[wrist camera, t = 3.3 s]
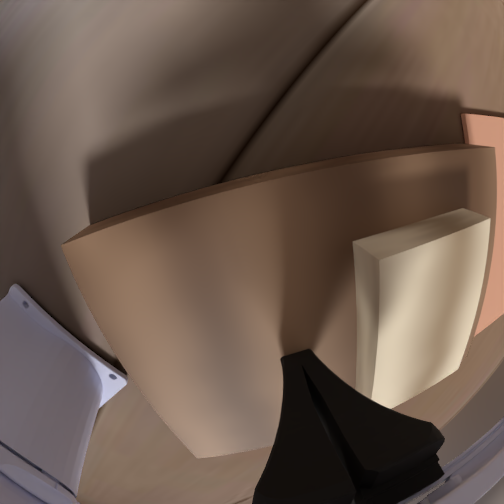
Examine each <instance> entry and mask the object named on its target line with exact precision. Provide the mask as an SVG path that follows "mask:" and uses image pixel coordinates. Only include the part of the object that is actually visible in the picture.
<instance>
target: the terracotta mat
mask: <svg viewBox="0 0 504 504" xmlns="http://www.w3.org/2000/svg"><path fill="white" fill-rule="evenodd" d="M461 119H462V125H463V132H464V139H465V144H473V145H481V146H489V147H495V154H496V171H497V209H496V226H495V237H494V247H493V254H492V261H491V268H490V274H489V279H488V284H487V289H486V294H485V298H484V302H483V306H482V310H481V314H480V318H479V321H478V325H477V328H476V332H475V335H477V334H478V333H479V332H481V331H482V330H483V329H485V328H486V327H487V326H488V325H490V324H491V323H492V322H494V321H495V320H496V319H497V318H498V317H500V316H501V315H502V314H503V313H504V118H500V117H493V116H484V115H475V114H461ZM475 335H474V336H475Z"/></svg>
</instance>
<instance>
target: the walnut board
mask: <svg viewBox="0 0 504 504" xmlns="http://www.w3.org/2000/svg"><path fill="white" fill-rule="evenodd" d="M461 208H464V209H467V210H470V211H473V212H475V213H478V214H481V215H483V216H486V217H489V218H490V233H489V243H488V252H487V259H486V266H485V272H484V278H483V284H482V289H481V294H480V298H479V303H478V307H477V311H476V315H475V319H474V322H473V326H472V329H471V333H470V336H469V339H468V342H467V345H466V348H465V351H464V354H463V357H462V360H463V359H465V358H466V357H467V356H468V353H469V350H470V347H471V344H472V341H473V338H474V335H475V332H476V328H477V325H478V321H479V318H480V314H481V310H482V306H483V302H484V298H485V294H486V289H487V284H488V279H489V274H490V268H491V261H492V254H493V247H494V237H495V226H496V209H497V171H496V154H495V147H489V146H481V145H473V144H463V143H458V144H443V145H431V146H420V147H410V148H402V149H393V150H385V151H378V152H371V153H364V154H357V155H351V156H345V157H339V158H333V159H328V160H322V161H317V162H312V163H306V164H301V165H297V166H292V167H287V168H282V169H278V170H273V171H269V172H264V173H260V174H256V175H252V176H247V177H243V178H239V179H235V180H231V181H228V182H224V183H220V184H216V185H213V186H209V187H205V188H202V189H198V190H195V191H191V192H188V193H184V194H181V195H178V196H174V197H171V198H168V199H165V200H161V201H158V202H155V203H152V204H149V205H146V206H143V207H140V208H137V209H134V210H131V211H128V212H125V213H122V214H119V215H116V216H114V217H111V218H108V219H105V220H103V221H100V222H97V223H95V224H92V225H89V226H88V227H86V228H85V229H83V230H82V231H81V232H79V233H78V234H76V235H75V236H73V237H72V238H70V239H69V240H68V241H66V242H65V243H63V244H62V245H61V247H62V250H63V252H64V255H65V257H66V260H67V262H68V265H69V267H70V269H71V272H72V274H73V276H74V278H75V281H76V283H77V285H78V287H79V289H80V291H81V293H82V295H83V297H84V299H85V301H86V303H87V305H88V307H89V309H90V311H91V313H92V315H93V317H94V319H95V321H96V322H97V324H98V326H99V328H100V330H101V331H102V333H103V335H104V337H105V338H106V340H107V342H108V343H109V345H110V347H111V348H112V350H113V351H114V353H115V355H116V356H117V358H118V359H119V361H120V363H121V364H122V366H123V367H124V369H125V370H126V372H127V373H128V375H129V376H130V377H131V379H132V380H133V382H134V383H135V385H136V386H137V387H138V389H139V390H140V392H141V393H142V394H143V396H144V397H145V398H146V400H147V401H148V402H149V404H150V405H151V406H152V407H153V409H154V410H155V411H156V412H157V414H158V415H159V416H160V417H161V419H162V420H163V421H164V422H165V423H166V425H167V426H168V427H169V428H170V429H171V431H172V432H173V433H174V434H175V435H176V436H177V437H178V438H179V440H180V441H181V442H182V443H183V444H184V445H185V446H186V447H187V448H188V449H189V450H190V451H191V453H192V454H193V455H194V456H195V457H196V458H206V457H214V456H221V455H227V454H233V453H239V452H245V451H250V450H255V449H259V448H264V447H268V446H272V445H273V444H274V441H275V437H276V433H277V429H278V425H279V420H280V414H281V406H282V398H283V371H282V365H281V361H280V359H281V357H283V356H286V355H289V354H293V353H296V352H299V351H303V350H306V349H311V350H312V351H313V352H314V354H315V355H316V356H317V357H318V358H319V359H320V360H321V361H322V362H323V363H324V364H325V365H326V366H327V367H328V368H329V369H330V370H331V371H332V372H334V373H335V374H336V375H337V376H338V377H339V378H341V379H342V380H343V381H344V382H346V383H347V384H348V385H350V386H351V387H352V388H354V389H355V388H356V365H357V306H356V282H355V266H354V253H353V242H352V241H356V240H359V239H362V238H366V237H369V236H373V235H376V234H379V233H383V232H386V231H389V230H393V229H396V228H399V227H403V226H406V225H409V224H413V223H416V222H419V221H422V220H426V219H429V218H432V217H435V216H439V215H442V214H445V213H448V212H451V211H455V210H458V209H461ZM462 360H461V361H462Z"/></svg>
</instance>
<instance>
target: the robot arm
mask: <svg viewBox="0 0 504 504" xmlns="http://www.w3.org/2000/svg"><path fill="white" fill-rule="evenodd" d="M26 302H27V303H28V304H27V303H26ZM280 361H281V365H282V371H283V398H282V406H281V414H280V420H279V425H278V429H277V433H276V437H275V441H274V444H273V448H272V451H271V453H270V456H269V459H268V461H267V464H266V467H265V469H264V471H263V473H262V476H261V478H260V480H259V482H258V484H257V486H256V488H255V492H254V496H253V501H252V504H407V503H409V502H411V501H412V500H414V499H416V498H418V497H420V496H421V495H423V494H425V493H426V492H428V491H429V490H431V489H433V488H434V487H436V486H437V485H439V484H440V483H442V482H443V481H445V480H446V481H445V484H443V485H442V486H440V487H439V488H438V489H436V490H435V491H433V492H432V493H430V494H429V495H427V497H426V498H425V499H423V500H422V501H420V502H419V503H417V504H474V503H475V502H476V501H478V500H479V499H480V498H481V497H482V496H483V495H484V494H485V493H486V492H488V491H489V490H490V489H491V488H492V487H493V486H494V485H495V484H496V483H497V482H498V481H499V480H500V479H501V478H502V477H503V476H504V417H503V418H502V419H501V420H500V421H499V422H498V423H497V424H496V425H495V426H493V428H491V429H490V430H489V431H488V432H487V433H486V434H485V435H483V436H482V437H481V438H480V439H479V440H478V441H476V442H475V443H474V444H473V445H471V446H470V447H469V448H468V449H467V450H465V451H464V452H463V453H461V454H460V455H459V456H458V457H456V458H455V459H453V460H452V461H450V462H449V463H447V464H446V465H445V466H443V467H442V468H441V467H440V465H439V464H438V461H439V458H438V456H437V455H436V453H437V451H438V450H439V449H440V447H441V446H442V445H443V443H444V440H445V438H444V436H443V435H442V434H441V432H440V431H439V430H438V429H437V428H436V427H435V426H434V425H433V424H432V423H431V422H427V421H423V420H419V419H416V418H412V417H409V416H406V415H404V414H401V413H398V412H396V411H394V410H391V409H389V408H387V407H385V406H382V405H380V404H378V403H377V402H375V401H373V400H371V399H369V398H368V397H366V396H364V395H363V394H361V393H360V392H358V391H357V390H355V389H354V388H352V387H351V386H350V385H348V384H347V383H346V382H344V381H343V380H342V379H341V378H339V377H338V376H337V375H336V374H335V373H334V372H332V371H331V370H330V369H329V368H328V367H327V366H326V365H325V364H324V363H323V362H322V361H321V360H320V359H319V358H318V357H317V356H316V355H315V354H314V352H313V351H312V350H311V349H306V350H303V351H299V352H296V353H293V354H289V355H286V356H283V357H281V359H280ZM113 374H114V375H113ZM127 381H128V378H127V376H126V375H125V374H124V373H122V372H121V371H119V370H118V369H116V368H115V367H113V366H112V365H110V364H109V363H108V362H106V361H105V360H103V359H102V358H101V357H99V356H98V355H97V354H95V353H94V352H93V351H91V350H90V349H89V348H87V347H86V346H85V345H84V344H82V343H81V342H80V341H79V340H77V339H76V338H75V337H74V336H72V335H71V334H70V333H69V332H68V331H67V330H65V329H64V328H63V327H62V326H61V325H60V324H58V323H57V322H56V321H55V320H54V319H53V318H52V317H51V316H50V315H48V314H47V313H46V312H45V311H44V310H43V309H42V308H41V307H40V306H39V305H38V304H37V303H36V302H35V301H34V300H33V299H32V298H31V297H30V296H29V295H28V294H27V293H26V292H25V291H24V290H23V289H22V288H21V287H20V286H19V285H18V284H13V285H12V286H11V287H10V289H9V292H8V294H7V295H6V296H5V297H4V298H3V299H2V300H1V301H0V504H80V503H79V502H77V501H76V497H77V492H78V487H79V482H80V477H81V472H82V468H83V463H84V459H85V455H86V451H87V447H88V443H89V440H90V436H91V432H92V429H93V425H94V422H95V418H96V415H97V412H98V409H99V408H100V407H101V406H102V405H103V404H104V403H106V402H107V401H108V400H109V399H110V398H111V397H113V396H114V395H115V394H116V393H117V392H118V391H119V390H121V389H122V388H123V387H124V386H125V385H126V384H127Z"/></svg>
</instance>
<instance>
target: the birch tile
mask: <svg viewBox="0 0 504 504" xmlns="http://www.w3.org/2000/svg"><path fill="white" fill-rule="evenodd" d="M489 233H490V218H489V217H486V216H483V215H481V214H478V213H475V212H473V211H470V210H467V209H464V208H461V209H458V210H455V211H451V212H448V213H445V214H442V215H439V216H435V217H432V218H429V219H426V220H422V221H419V222H416V223H413V224H409V225H406V226H403V227H399V228H396V229H393V230H389V231H386V232H383V233H379V234H376V235H373V236H369V237H366V238H362V239H359V240H356V241H352V242H353V253H354V266H355V282H356V306H357V365H356V388H355V390H357V391H358V392H360V393H361V394H363V395H364V396H366V397H368V398H369V399H371V400H373V401H375V402H377V403H378V404H380V405H382V406H385V407H387V408H389V409H391V408H393V407H395V406H397V405H399V404H401V403H403V402H405V401H407V400H408V399H410V398H412V397H414V396H416V395H417V394H419V393H421V392H423V391H424V390H426V389H428V388H429V387H431V386H433V385H434V384H436V383H438V382H439V381H441V380H442V379H444V378H445V377H447V376H448V375H450V374H451V373H453V372H454V371H456V370H457V369H458V368H459V365H460V363H461V360H462V357H463V354H464V351H465V348H466V345H467V342H468V339H469V336H470V333H471V329H472V326H473V322H474V319H475V315H476V311H477V307H478V303H479V298H480V294H481V289H482V284H483V278H484V272H485V266H486V259H487V252H488V243H489Z"/></svg>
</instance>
